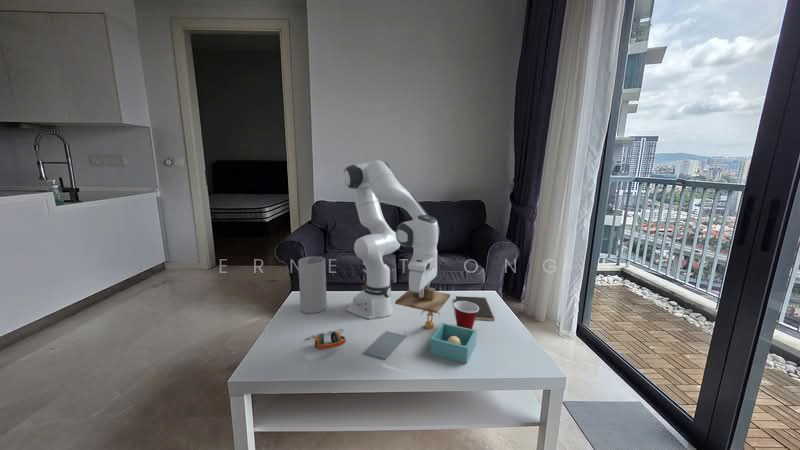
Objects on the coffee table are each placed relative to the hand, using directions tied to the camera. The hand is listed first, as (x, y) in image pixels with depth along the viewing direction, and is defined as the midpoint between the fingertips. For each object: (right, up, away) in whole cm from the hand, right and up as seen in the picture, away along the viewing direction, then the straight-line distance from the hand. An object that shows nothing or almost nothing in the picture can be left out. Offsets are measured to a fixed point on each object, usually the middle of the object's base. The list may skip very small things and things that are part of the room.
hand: (423, 294), depth 122 cm
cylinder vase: (-52, -15, +39) cm, 66 cm away
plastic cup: (+19, -20, +18) cm, 33 cm away
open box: (+12, -22, +3) cm, 25 cm away
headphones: (-37, -21, +7) cm, 44 cm away
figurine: (+4, -20, +18) cm, 27 cm away
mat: (-10, -22, +4) cm, 24 cm away
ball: (+12, -21, +2) cm, 24 cm away
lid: (0, -2, 0) cm, 2 cm away
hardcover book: (+28, -16, +40) cm, 51 cm away
